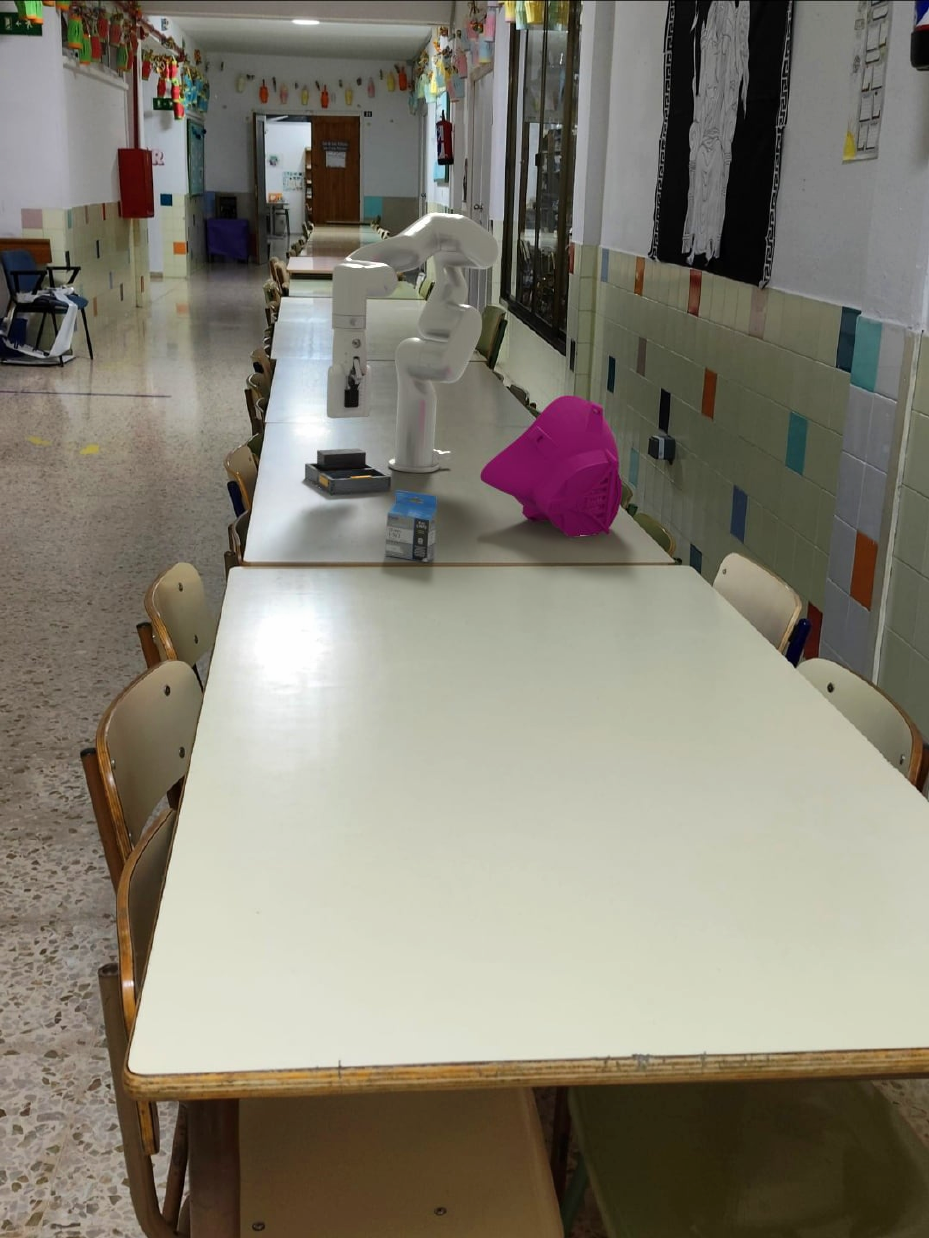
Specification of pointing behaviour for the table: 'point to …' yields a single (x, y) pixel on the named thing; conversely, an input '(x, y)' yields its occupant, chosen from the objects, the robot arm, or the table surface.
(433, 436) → the robot arm
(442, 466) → the table surface
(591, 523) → the face mask
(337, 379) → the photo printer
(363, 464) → the tray
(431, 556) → the label tape box
